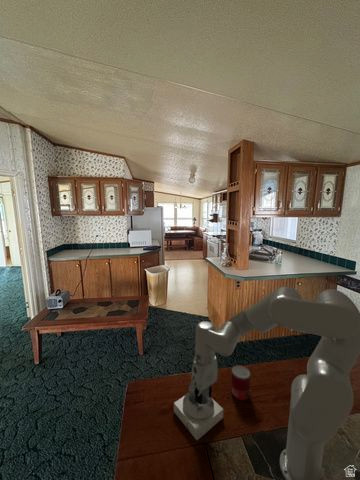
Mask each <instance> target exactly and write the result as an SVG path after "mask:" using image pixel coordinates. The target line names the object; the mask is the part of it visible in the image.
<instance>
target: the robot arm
mask: <svg viewBox="0 0 360 480" xmlns="http://www.w3.org/2000/svg"><path fill="white" fill-rule="evenodd" d="M277 326H280V327H282V328H285V329H288V330H291V331H296V332H299V333H306V334H311V335H315V336H320V337H321V338H320V340H319V342H318V344H317V345H316V347H315V349H314V351H313V352H312V353H311V355H310V357H309V358H308V361H307V365H306V374H305V373H304V374H299V375H297V376H296V377H295V378H294V379H293V381H292V383H291V387H290V403H289V405H290V406H289V414H288V415H289V418H288V426H287V434H286V435H287V437H286V447H285V448H284V449H283V450H282V451H281V453H280V455H279V467H280V471H281V473H282V476H283V477H284V479H285V480H328V479H327V476H326V475H325V468H323V466H322V465H323V456H324V449H325V448H324V447H325V444H326V443H327V442H329V441H330V440H332V439H333V437H334V436H336V433H337V432H338V431H339V430H340V428H341V427H342V426H343V424H344V422H345V421H346V420H347V418H348V416H349V415H350V414H351V411H352V410H353V406H354V400H355V399H354V392H353V387H352V384H351V380H350V374H351V371H352V369H353V367H354V366H355V364H356V362H357V360H358V358H359V357H360V310H359V308H358V306H357V305H356V304H355V303H354V301H353V300H352V299H351V298H350V297H349V296H348V295H347V294H345V293H344V292H343V291H340V290H337V289H332V288H329V289H325V290H323V291H321V292H320V293H319V294H318V295H317V297H316V299H315V301H312V300H305V299H303V297H302V295H301V294H300V292H299V291H297V290H296V289H295V288H293V287H292V286H287V285H286V286H285V285H284V286H280V287H278V288H277V289H274V290H273V291H272V292H270V293H269V294H268V295H266V296H265V297H263V298H262V299H260V300H259V301H258V302H256V303H254V304H252V305H251V306H250V307H248V308H246V309H244V310H242V311H239V312H238V313H236V314H235V315H233V316H232V317H230V318H229V319H227V320H226V321H225V322H223V324H222V325H221V326H220V327H219V329H218V330H217V326H216V325H215V324H214V323H213V322H211V321H207V320H203V321H200V322H198V323H197V324H196V327H195V341H194V343H195V346H194V347H195V348H194V357H193V363H192V369H191V378H190V380H191V381H192V383H191V386H190V388H189V387H188V392H189V391H190V392H191V393H195V400H196V401H197V402H198V403H199V404H200V405H201V404H202V394H201V392H202V390H204V389H206V388H207V387H209V397H211V398H212V390H213V387H214V383H216V382H217V381H218V368H219V367H218V359H217V357H216V354H218V355H220V356H223V357H229V356H231V355H232V354H233V352H234V350H235V348H236V346H237V344H238V342H239V340H240V338H242V337H243V336H245V335H246V334H248V333H250V332H251V331H255V330H256V331H258V332H259V333H261V334H263V333H267V332H268V331H270V330H272V329H274V328H275V327H277ZM191 381H190V382H191Z"/></svg>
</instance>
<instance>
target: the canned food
mask: <svg viewBox="0 0 360 480" xmlns="http://www.w3.org/2000/svg"><path fill="white" fill-rule="evenodd" d="M250 386H251V371H250V369H248V368H247V367H245V366H243V365H235V366H233V367H232V368H231V379H230V392H231V396H233V397H234V398H235V400H238V401H246V400H247V399H248V398H249V396H250Z"/></svg>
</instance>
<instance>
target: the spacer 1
mask: <svg viewBox="0 0 360 480" xmlns="http://www.w3.org/2000/svg"><path fill="white" fill-rule="evenodd" d="M191 383H192V381H189V383H188V389H189V388H190V386H191ZM188 392H189V401H190V402H192V403H197V401H196V400H195V393H191V392H190V391H189V390H188Z"/></svg>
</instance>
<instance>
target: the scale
mask: <svg viewBox="0 0 360 480" xmlns="http://www.w3.org/2000/svg"><path fill="white" fill-rule="evenodd" d="M184 397H185V395H183V396H182V397H180V398H179V399H178V400H176V401H174V402H173V412H174V414H175V415H176V417H178V419H179V420H180V421H181V423H183V425H184V426H185V428H186V429H187V430H188V432H189V433H190V434H191V435H192V437H193V438H194V439H195V440H196V441H199V439H201V438H202V437H203V436H204V435H205V434H206V433H208V432H209V431H210V430H211V429H212V428H213V427H214V426H215V425H217V424H218V423H219V422H220V421H221V420H222V419H223V418H224V408H223V407H222V406H221V405H219V403H218V402H217V401H215V400H214V399H213V402H214V410H213V413H212V414H211V416H209V417H208V418H206V419H203V420H197V419H193V418H191V417H190V416H188V415H187V414H186V412H185V411H184V408H183V399H184Z"/></svg>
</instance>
